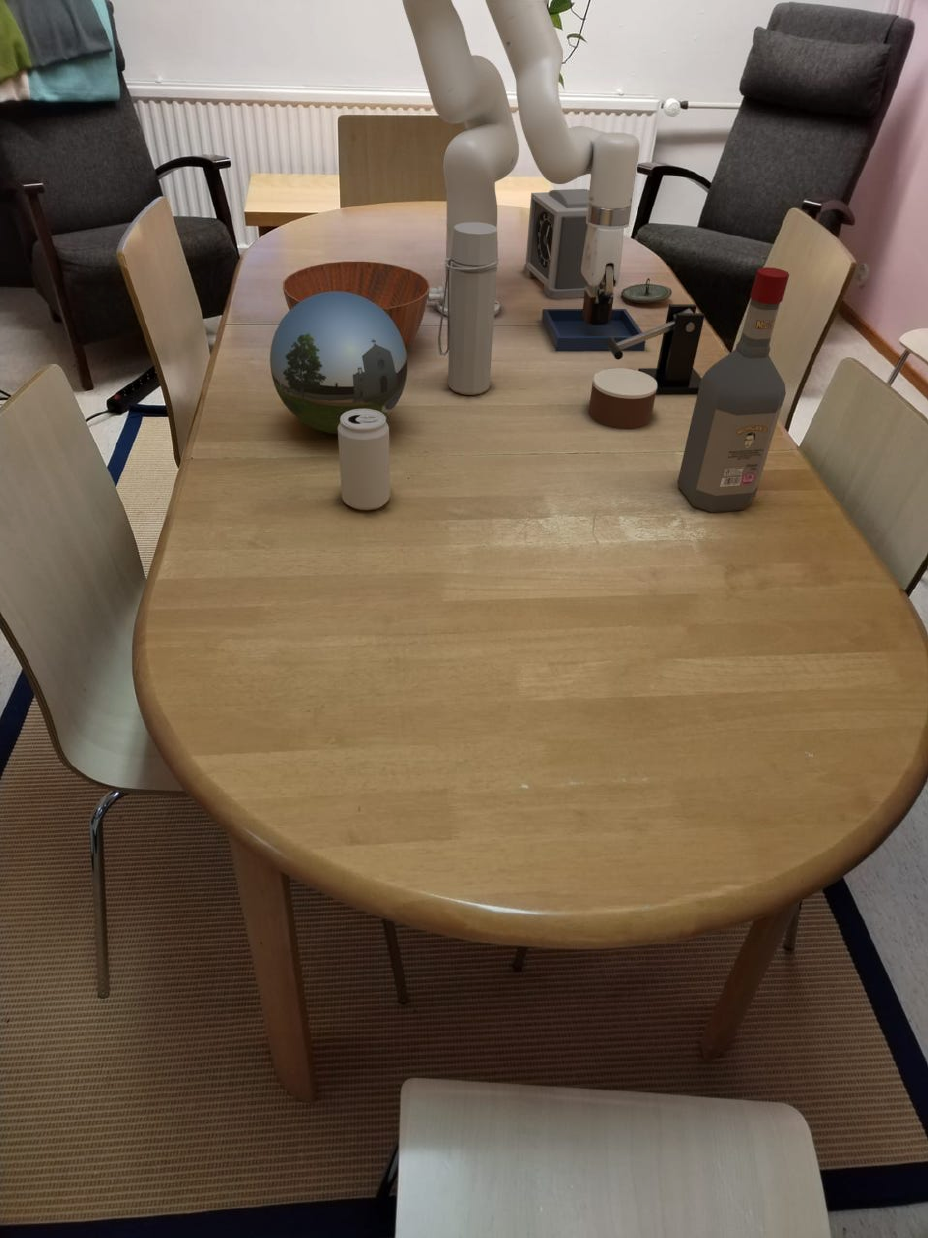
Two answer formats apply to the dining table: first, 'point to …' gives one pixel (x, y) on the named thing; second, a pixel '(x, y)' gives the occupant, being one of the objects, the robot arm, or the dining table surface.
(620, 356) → the lever
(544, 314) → the tray
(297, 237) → the dining table surface
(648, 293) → the lid
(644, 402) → the cake
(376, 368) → the decorative sphere
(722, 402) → the liquor
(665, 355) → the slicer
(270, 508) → the dining table surface
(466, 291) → the water bottle
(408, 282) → the bowl
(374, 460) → the beverage can
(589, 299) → the cake slice
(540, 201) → the alarm clock
